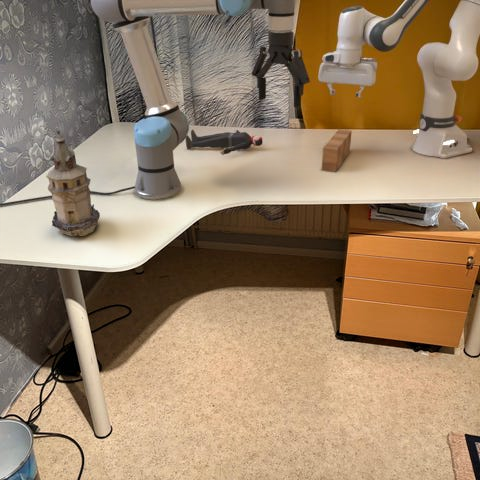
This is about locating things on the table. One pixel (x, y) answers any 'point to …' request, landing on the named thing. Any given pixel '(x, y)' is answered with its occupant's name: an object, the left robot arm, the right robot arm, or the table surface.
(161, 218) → the table surface
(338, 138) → the bar
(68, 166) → the miniature building
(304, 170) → the table surface
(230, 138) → the toy
